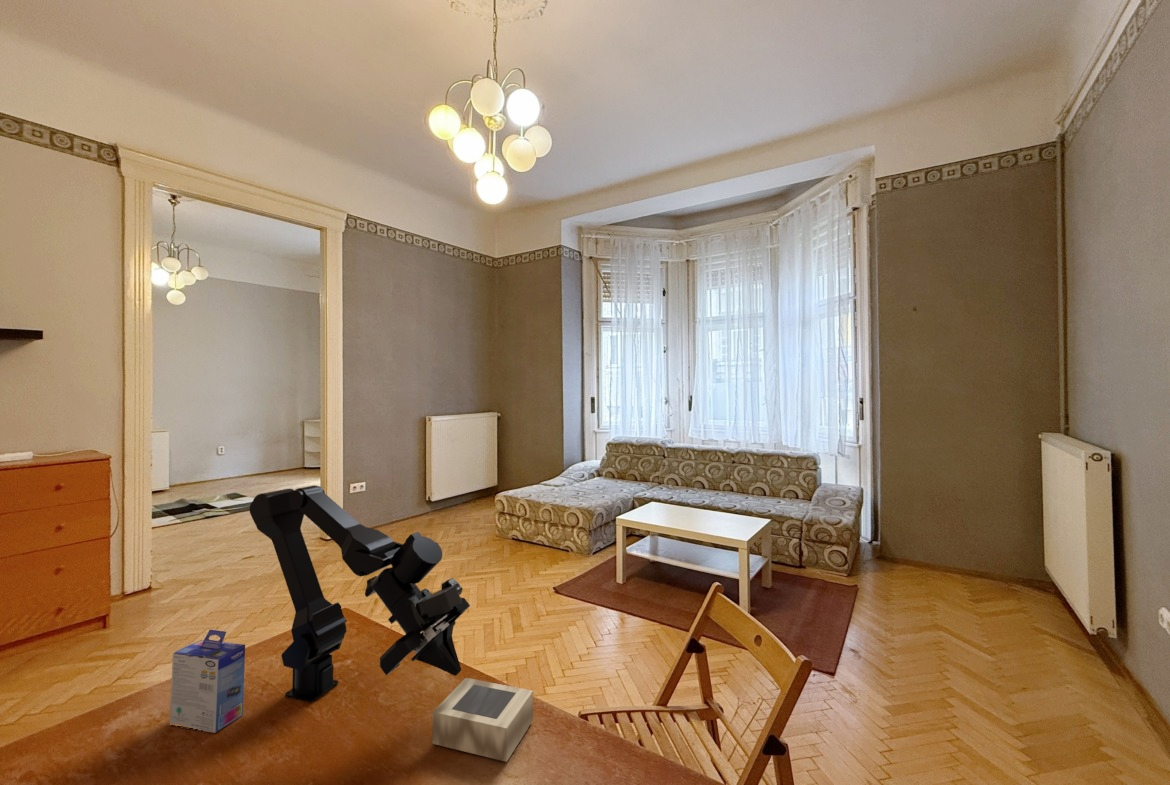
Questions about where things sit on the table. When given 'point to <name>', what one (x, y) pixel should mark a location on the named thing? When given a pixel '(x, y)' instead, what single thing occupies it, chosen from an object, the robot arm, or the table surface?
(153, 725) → the table surface
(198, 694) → the ink cartridge box
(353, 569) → the robot arm
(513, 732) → the birch block
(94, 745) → the table surface
